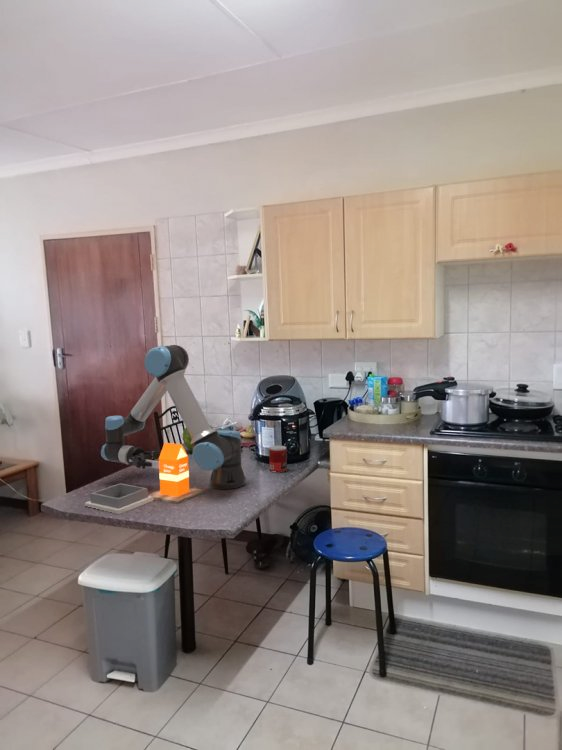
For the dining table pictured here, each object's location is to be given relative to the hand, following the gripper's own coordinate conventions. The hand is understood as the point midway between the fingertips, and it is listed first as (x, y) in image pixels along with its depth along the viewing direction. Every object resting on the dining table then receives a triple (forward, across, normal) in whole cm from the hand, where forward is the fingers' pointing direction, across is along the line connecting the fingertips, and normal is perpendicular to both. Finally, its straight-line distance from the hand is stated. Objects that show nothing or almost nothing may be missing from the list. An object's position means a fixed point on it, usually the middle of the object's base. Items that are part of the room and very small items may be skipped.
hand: (170, 461), depth 226 cm
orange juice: (+1, 0, -13) cm, 13 cm away
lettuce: (-38, -67, -14) cm, 79 cm away
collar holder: (-10, +18, -14) cm, 25 cm away
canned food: (+20, -50, -14) cm, 56 cm away
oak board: (+2, 0, -14) cm, 14 cm away
